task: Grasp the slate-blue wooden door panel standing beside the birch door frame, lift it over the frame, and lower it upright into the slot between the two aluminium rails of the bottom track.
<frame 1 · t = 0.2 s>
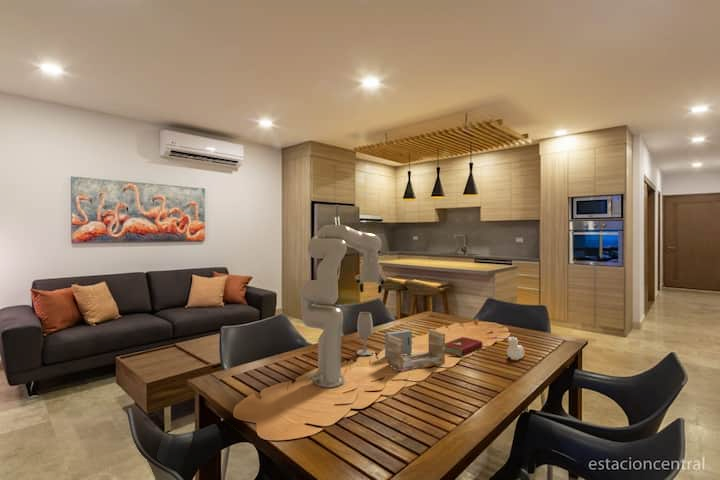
hand: (370, 292, 198), 31 cm above the table, tool pointing down, fingers open, 9 cm apart
hardcover book: (462, 350, 201), on the table
door panel: (398, 355, 191), on the table
door track: (416, 363, 179), on the table
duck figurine: (514, 358, 188), on the table
wineglass: (365, 354, 193), on the table
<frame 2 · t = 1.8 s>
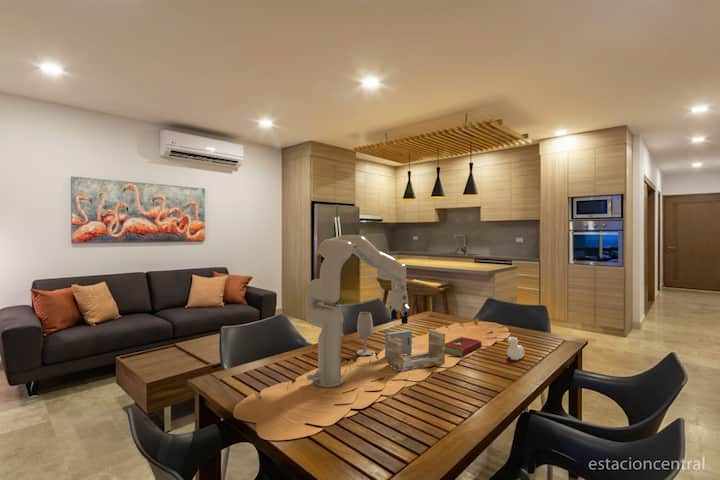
hand: (399, 321, 191), 17 cm above the table, tool pointing down, fingers open, 9 cm apart
nothing on the table moved.
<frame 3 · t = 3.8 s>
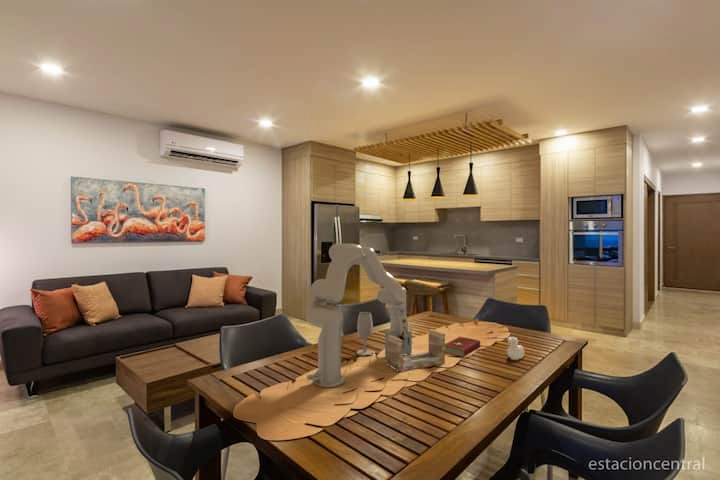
hand: (398, 347, 191), 4 cm above the table, tool pointing down, fingers closed on door panel, 3 cm apart
door panel: (398, 355, 191), on the table, touching gripper
everything else where it was.
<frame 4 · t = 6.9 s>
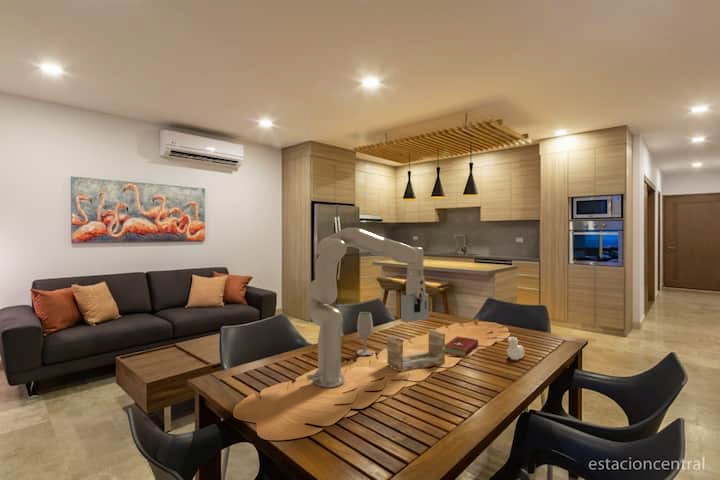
hand: (415, 311, 179), 25 cm above the table, tool pointing down, fingers closed on door panel, 3 cm apart
door panel: (414, 319, 179), point 21 cm above the table, touching gripper
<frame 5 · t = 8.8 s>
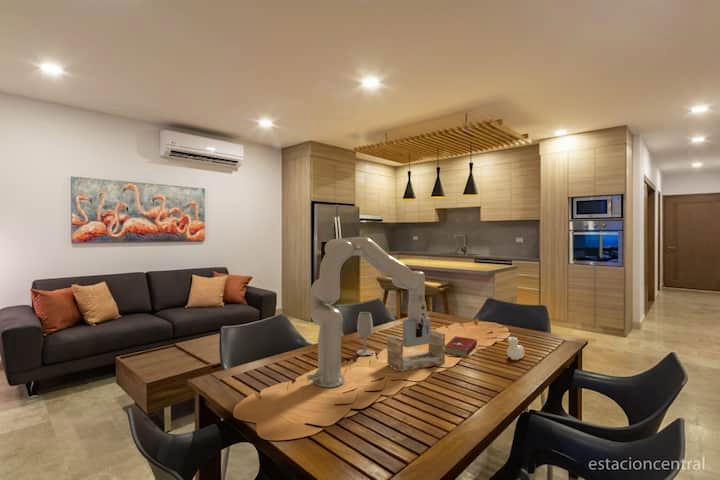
hand: (416, 335, 178), 14 cm above the table, tool pointing down, fingers closed on door panel, 3 cm apart
door panel: (416, 344, 179), point 9 cm above the table, touching gripper
when the fingers open (6 cm above the table, at t = 10.5 s): door panel drops 1 cm, resting on door track.
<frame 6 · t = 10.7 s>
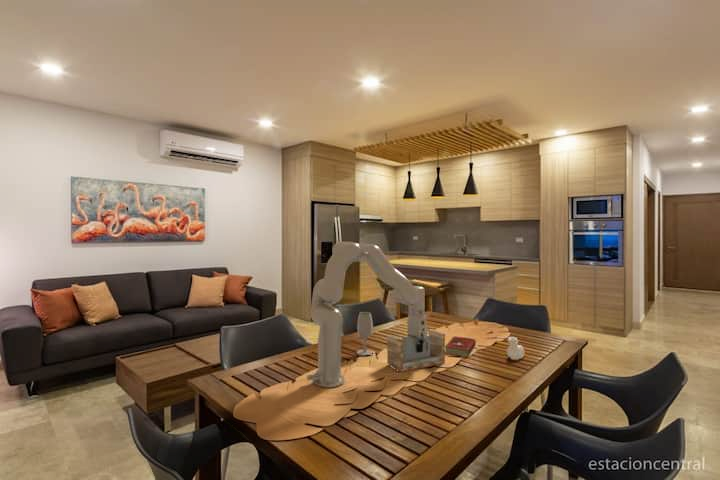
hand: (416, 350, 178), 7 cm above the table, tool pointing down, fingers open, 4 cm apart
door panel: (416, 361, 179), point 1 cm above the table, touching door track
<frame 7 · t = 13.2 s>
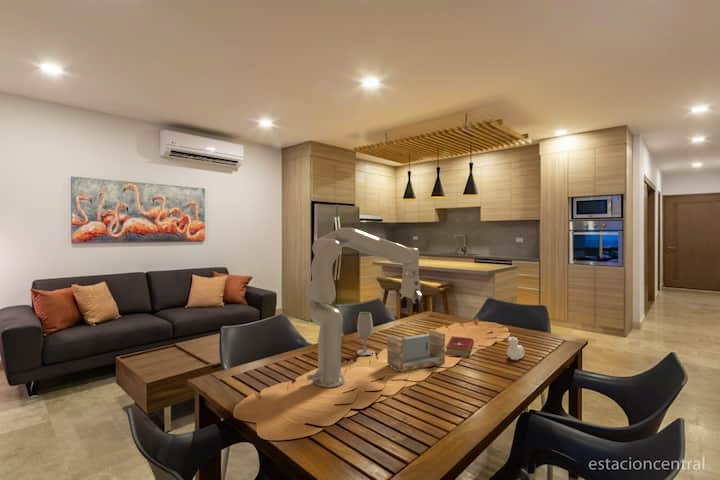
hand: (409, 309, 178), 26 cm above the table, tool pointing down, fingers open, 9 cm apart
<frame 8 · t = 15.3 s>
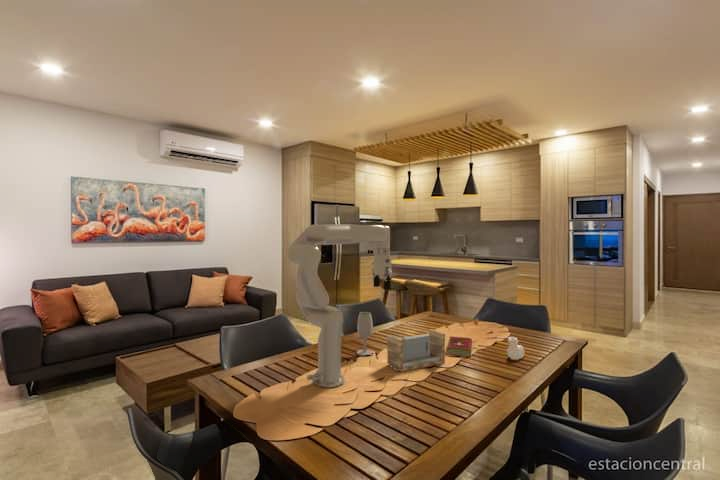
hand: (381, 288, 177), 36 cm above the table, tool pointing down, fingers open, 9 cm apart
at the end: door panel 0.1 cm off-centre on the door track, point 1.0 cm above the door track's base; door panel tilted 0°; the gripper is holding nothing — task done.
